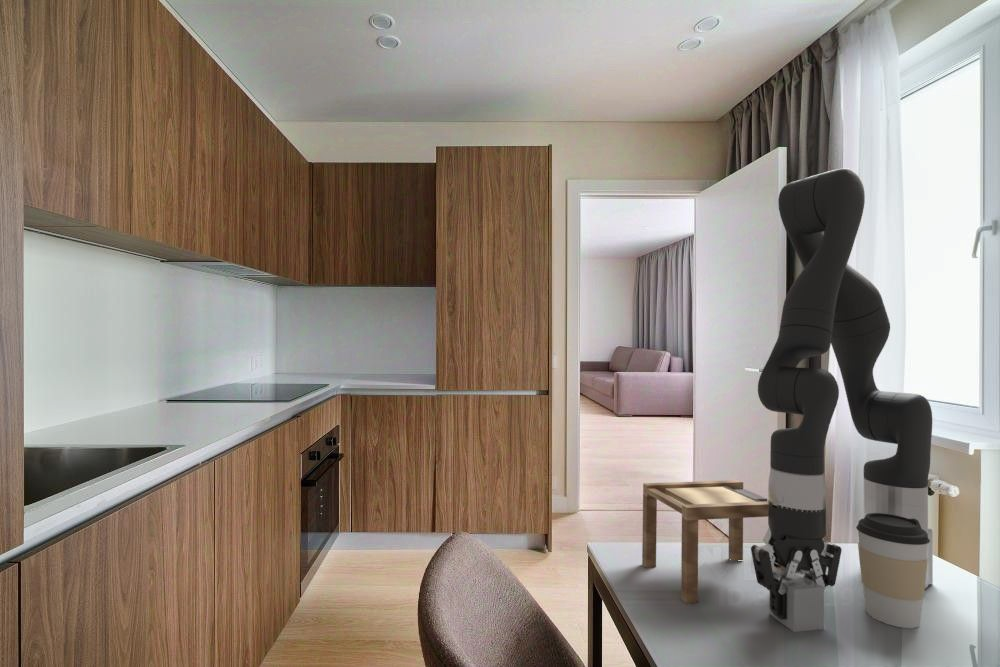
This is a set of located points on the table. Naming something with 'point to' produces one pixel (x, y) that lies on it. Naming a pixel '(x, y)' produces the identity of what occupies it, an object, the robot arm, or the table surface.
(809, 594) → the grey block
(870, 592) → the coffee cup
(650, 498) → the frame
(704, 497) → the trapdoor
